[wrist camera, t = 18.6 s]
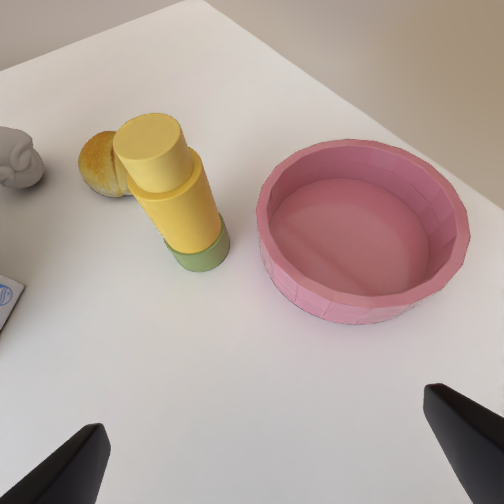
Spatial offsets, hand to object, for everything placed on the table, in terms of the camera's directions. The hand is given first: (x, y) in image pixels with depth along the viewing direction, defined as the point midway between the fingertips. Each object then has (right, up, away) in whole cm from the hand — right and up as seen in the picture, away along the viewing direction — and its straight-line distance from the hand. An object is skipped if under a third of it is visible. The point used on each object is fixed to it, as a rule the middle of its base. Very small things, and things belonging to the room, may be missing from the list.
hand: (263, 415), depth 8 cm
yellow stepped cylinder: (-5, +5, +17) cm, 19 cm away
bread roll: (-13, +13, +23) cm, 30 cm away
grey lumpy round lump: (-25, +12, +23) cm, 36 cm away
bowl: (+8, +6, +16) cm, 19 cm away
